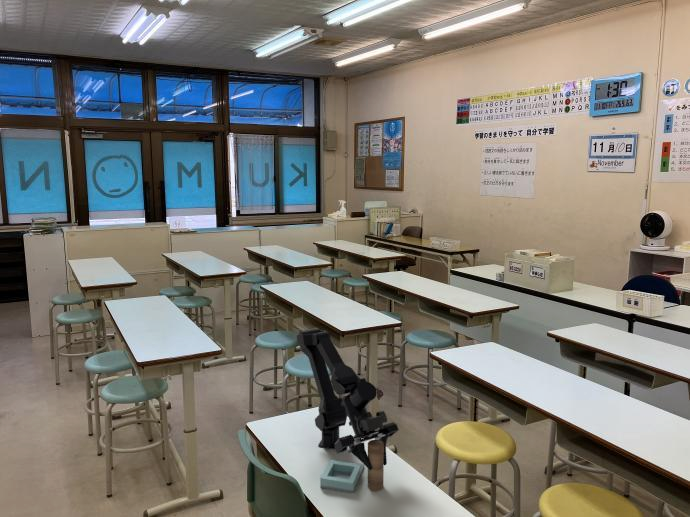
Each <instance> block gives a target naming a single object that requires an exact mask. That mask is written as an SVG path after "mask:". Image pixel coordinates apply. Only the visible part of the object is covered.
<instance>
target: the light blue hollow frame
mask: <svg viewBox="0 0 690 517" xmlns="http://www.w3.org/2000/svg"><path fill="white" fill-rule="evenodd" d="M364 468H365V465H364V464H363V463H362V464H360V463H354V462H348V461H347V462H346V461H341V460H335V459H334V460H332V459H330V460H329V461H328V463H327V465H326V466H325V468H324V470H323V473H321V474H322V475H320V478H319V479H320V480H319V481H320V483H319V484H320V486H319V487H320V489H326V490H331V491H332V490H333V491H337V492H344V493H349V494H354V492H355V489H356V488H357V484H358V483H359V480H360V477H361V475H362V473H363V471H364Z"/></svg>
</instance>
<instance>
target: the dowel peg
mask: <svg viewBox="0 0 690 517" xmlns="http://www.w3.org/2000/svg"><path fill="white" fill-rule="evenodd" d="M367 456H368V458H369V460H370V463H371V466H372V470H369V469H368V468H367V488H368V489H369V491H373V492H379V491H382V490H383V489H384V474H385V472H384V468H385V467H384V466H385V465H384V443H383V442H382V441H380V440H375V439H371V440H368V442H367Z"/></svg>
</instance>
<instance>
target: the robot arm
mask: <svg viewBox="0 0 690 517" xmlns="http://www.w3.org/2000/svg"><path fill="white" fill-rule="evenodd" d="M296 342H297V344H298V345H299V347H300V351H301V352H302V354H304V355H306V357H307V358H308V360H309V363H310V368H311V370H312V374H313V377H314V382H315V385H316V389H317V391H318V395H319V399H320V401H319V404H318V405H319V406H318V415H317V416H316V417H315V418H314V422H315V423H314V424H315V427H316V428H318V429H319V431H321V440H320V442H319V443H318V445H317V447H318V448H324V449H332V450H335V453H336V454H340V453H344V452H346V451H347V450H348V448H349V450H348V451H347V452H348V454H352V455H354V456H355V458H357V459H358V460H359V461H360V462H361V463H362V465H364V467H366V468H367V470H368V469H369V470H372V466H371V463H370V460H369V458H368V452H367V451H366V448H365V447H366V446H365V442H367V441H368V442H369V441H371V440H380V441H382V442H383V443H384V466H386V465H387V463H388V462H387V441H388V439H389V438H391V437H393V436H394V435H395V434H397V433H398V432H399V431H400V428H399V426H398V424H397V423H396V422H394V421H393V422H389V423H388V417H387V415H386V412H385V411H384V410H381V411H380V410H379V411H377V412H375V414H376V415H372V413H371V411H368V409H367V407H368V405H370V403H372V401H373V400H374V399H375V398H376V397H377V394H378V393H377V391H378V390H377V388H376V386H375V385H374V384H373V383H371V382H369V381H367V380H366V377H363V378H361V377H360V376H359V375H358V374H357V372H355V371H354V369H353V367H350V366H349V365H347V364H346V363H345V362H344V360H343V358H342V357H341V355H340V353H339V351H338V350H337V348H336V346H335V344H334V342H333V341H332V338H331V334H330V333H329V331H326V330H321V329H319V327H314V328H309V329H308V328H307V329H302V330H300V331H299V333H298V334H296ZM329 372H330V374H331V378H330V374H329ZM336 394H337V395H339V396H342V395H345V396H342V397H338V396H337V395H336ZM346 394H347V395H346ZM347 420H349V422H348V425H349V427H351V428H352V430H353V433H354V435H352V434H349V435H345V436H342V437H340V427H343V426H346V424H347ZM384 423H385V424H384Z"/></svg>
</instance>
